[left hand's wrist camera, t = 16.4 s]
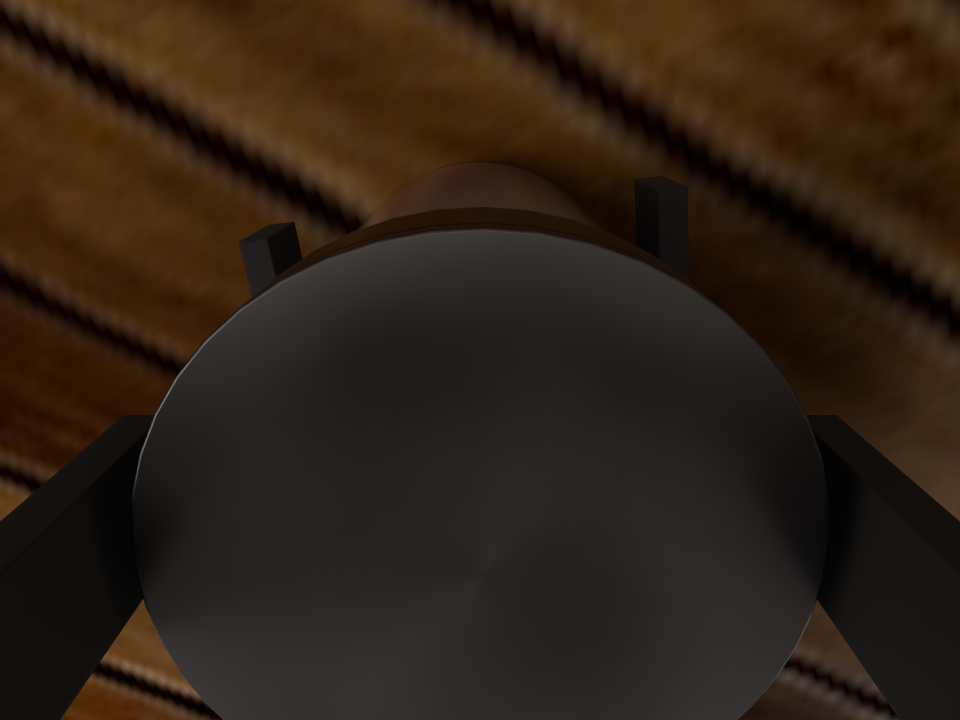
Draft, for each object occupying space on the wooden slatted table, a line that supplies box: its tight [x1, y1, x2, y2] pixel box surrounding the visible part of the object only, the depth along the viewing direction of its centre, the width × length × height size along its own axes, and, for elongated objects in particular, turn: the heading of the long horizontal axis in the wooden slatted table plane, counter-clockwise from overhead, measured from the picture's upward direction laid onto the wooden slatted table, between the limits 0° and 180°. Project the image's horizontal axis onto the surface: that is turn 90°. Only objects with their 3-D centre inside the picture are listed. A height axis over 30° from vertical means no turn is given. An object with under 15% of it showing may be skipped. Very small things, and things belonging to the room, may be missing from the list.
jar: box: [356, 162, 605, 231], centre depth 18 cm, size 10×10×16 cm
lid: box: [131, 207, 829, 720], centre depth 11 cm, size 11×11×2 cm
